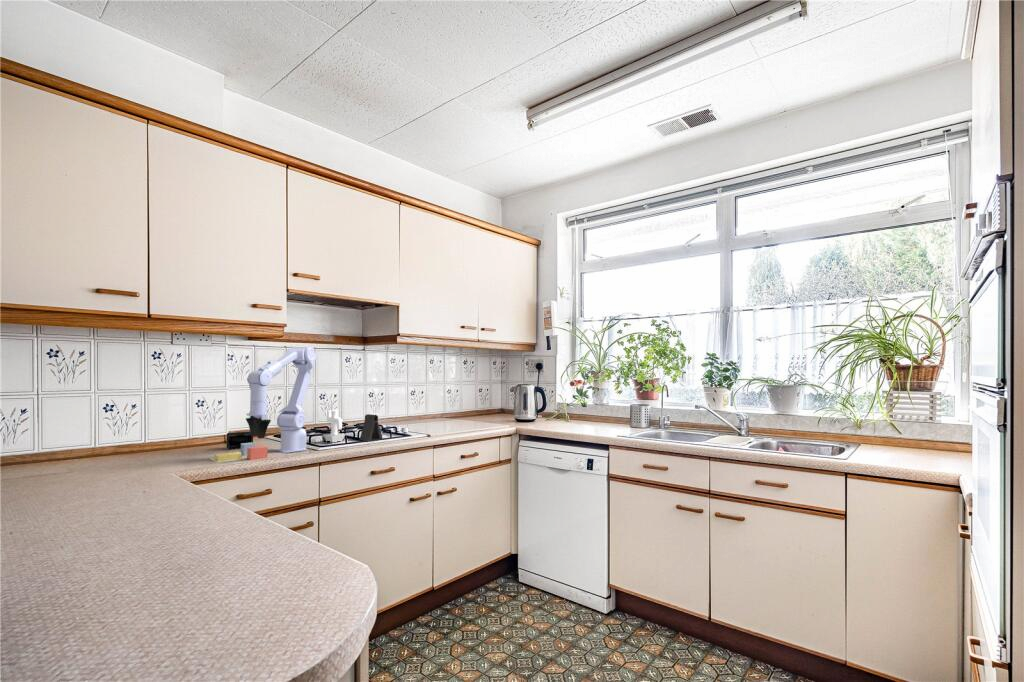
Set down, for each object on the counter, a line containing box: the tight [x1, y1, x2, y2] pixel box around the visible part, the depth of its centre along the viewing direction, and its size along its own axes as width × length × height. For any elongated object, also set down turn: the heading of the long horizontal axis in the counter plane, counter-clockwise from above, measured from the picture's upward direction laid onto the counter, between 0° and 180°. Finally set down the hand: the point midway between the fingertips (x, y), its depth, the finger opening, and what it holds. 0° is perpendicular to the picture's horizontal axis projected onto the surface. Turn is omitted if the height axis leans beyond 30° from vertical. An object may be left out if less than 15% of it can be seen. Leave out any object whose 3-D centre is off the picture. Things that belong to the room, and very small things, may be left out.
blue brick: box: [240, 442, 256, 457], centre depth 202 cm, size 4×4×4 cm
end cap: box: [226, 431, 254, 451], centre depth 217 cm, size 10×7×7 cm
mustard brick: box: [213, 450, 243, 461], centre depth 193 cm, size 8×5×2 cm, turn 135°
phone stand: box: [359, 413, 383, 442], centre depth 241 cm, size 9×6×12 cm, turn 148°
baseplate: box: [210, 457, 246, 464], centre depth 193 cm, size 10×10×1 cm
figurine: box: [322, 409, 346, 442], centre depth 233 cm, size 7×9×15 cm
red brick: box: [246, 445, 268, 461], centre depth 194 cm, size 6×4×4 cm, turn 135°
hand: (257, 437), depth 195 cm, fingers open, 7 cm apart
